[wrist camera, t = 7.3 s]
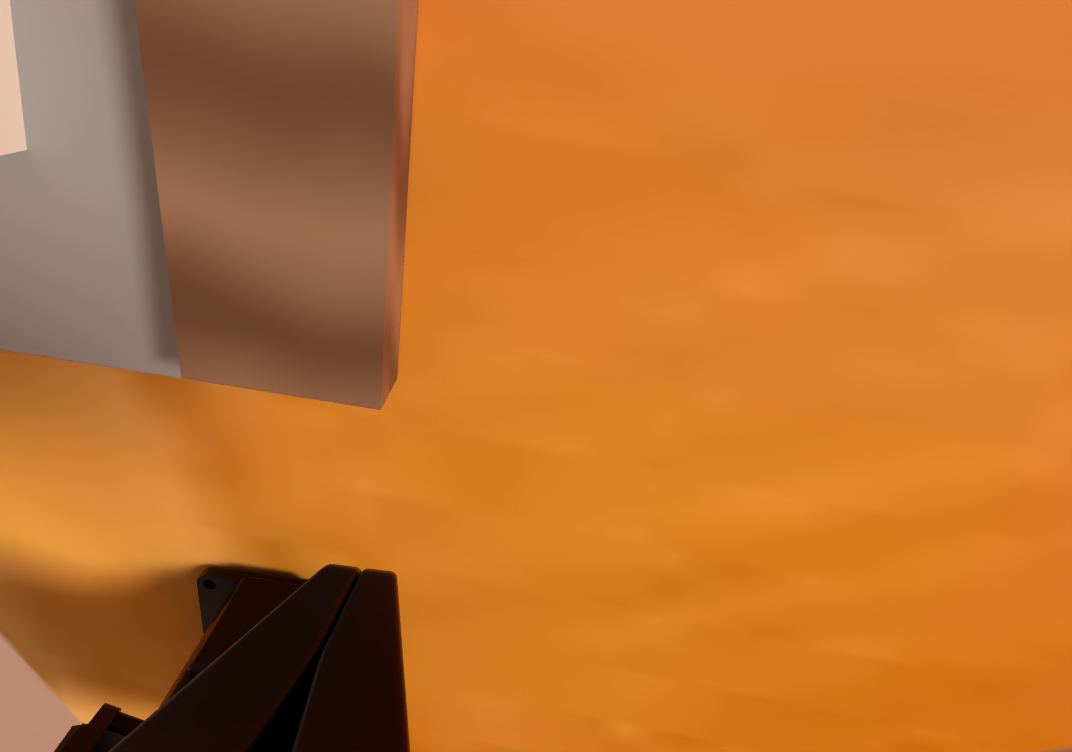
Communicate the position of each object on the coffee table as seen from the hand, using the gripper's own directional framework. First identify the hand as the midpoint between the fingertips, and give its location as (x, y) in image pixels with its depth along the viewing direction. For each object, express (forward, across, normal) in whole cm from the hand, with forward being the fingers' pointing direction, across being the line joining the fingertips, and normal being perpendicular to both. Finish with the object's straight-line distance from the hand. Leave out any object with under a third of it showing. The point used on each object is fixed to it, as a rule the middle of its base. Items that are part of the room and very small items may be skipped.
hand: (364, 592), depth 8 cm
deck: (+13, +6, -4) cm, 15 cm away
